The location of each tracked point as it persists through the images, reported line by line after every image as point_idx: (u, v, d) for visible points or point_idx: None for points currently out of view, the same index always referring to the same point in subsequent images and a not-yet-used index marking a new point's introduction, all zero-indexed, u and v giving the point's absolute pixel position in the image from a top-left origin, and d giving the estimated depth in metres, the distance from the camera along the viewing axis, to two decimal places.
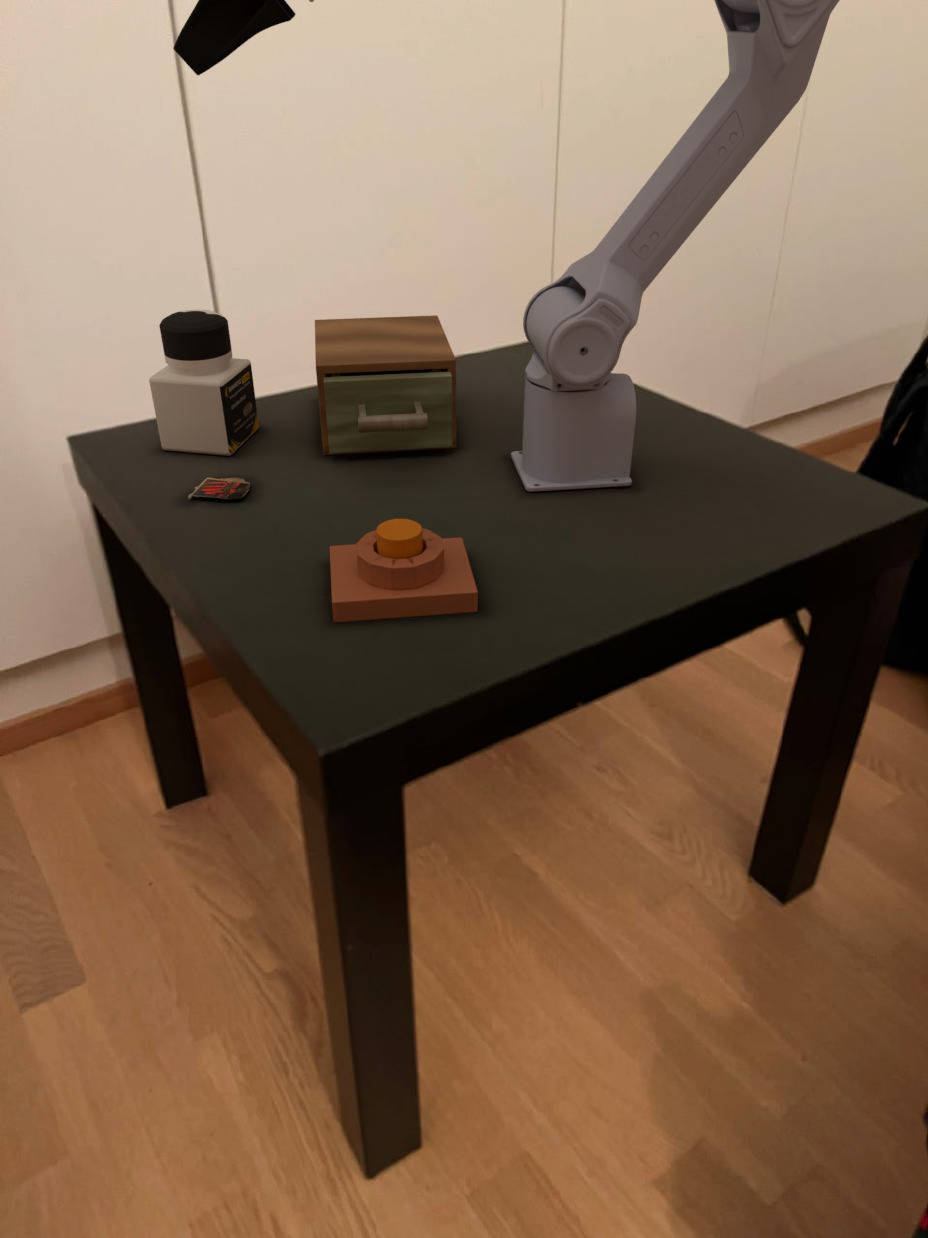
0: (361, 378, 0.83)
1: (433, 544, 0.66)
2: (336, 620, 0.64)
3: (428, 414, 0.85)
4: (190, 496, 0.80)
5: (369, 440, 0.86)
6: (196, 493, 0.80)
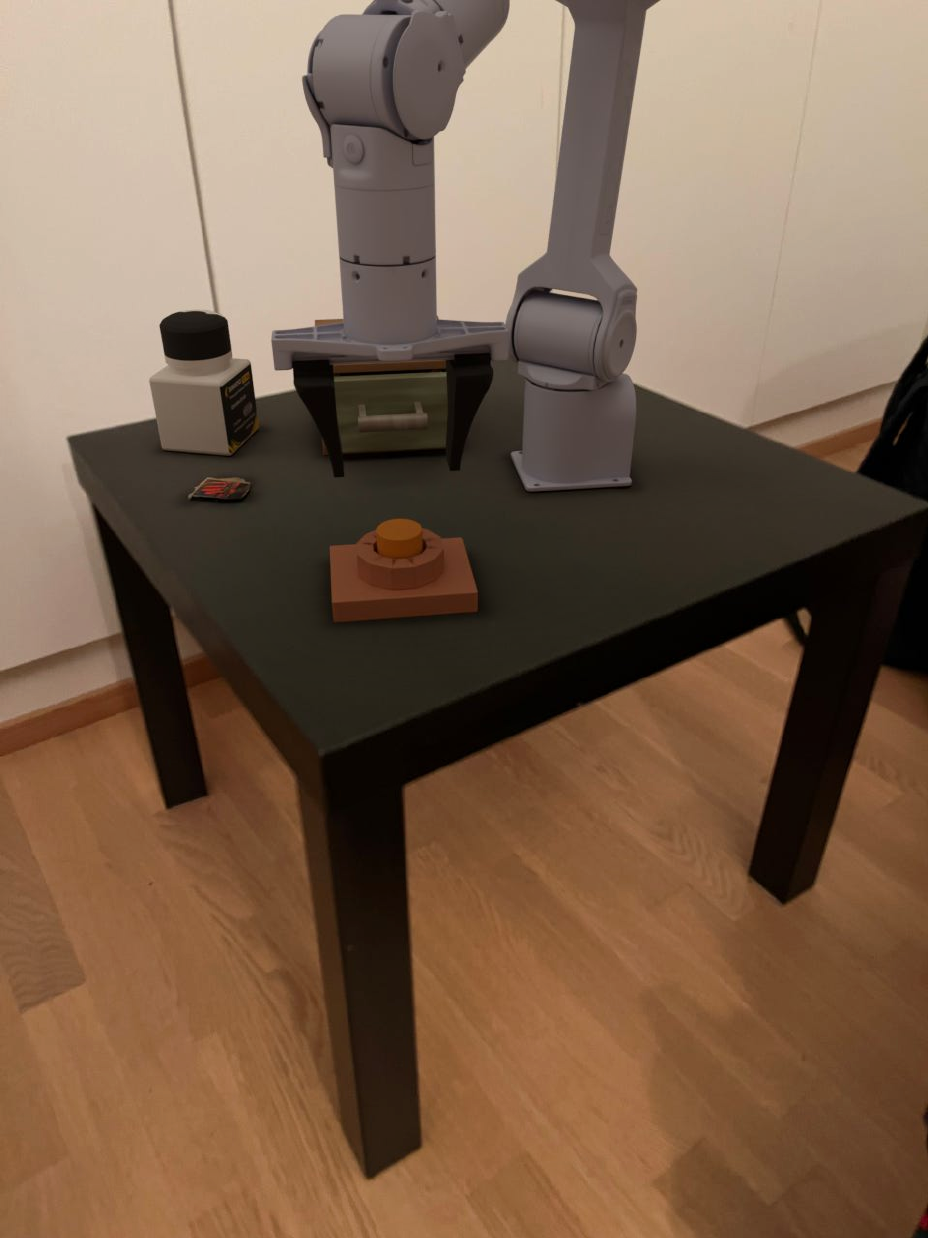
0: (361, 378, 0.83)
1: (433, 544, 0.66)
2: (336, 620, 0.64)
3: (428, 414, 0.85)
4: (190, 496, 0.80)
5: (369, 440, 0.86)
6: (196, 493, 0.80)
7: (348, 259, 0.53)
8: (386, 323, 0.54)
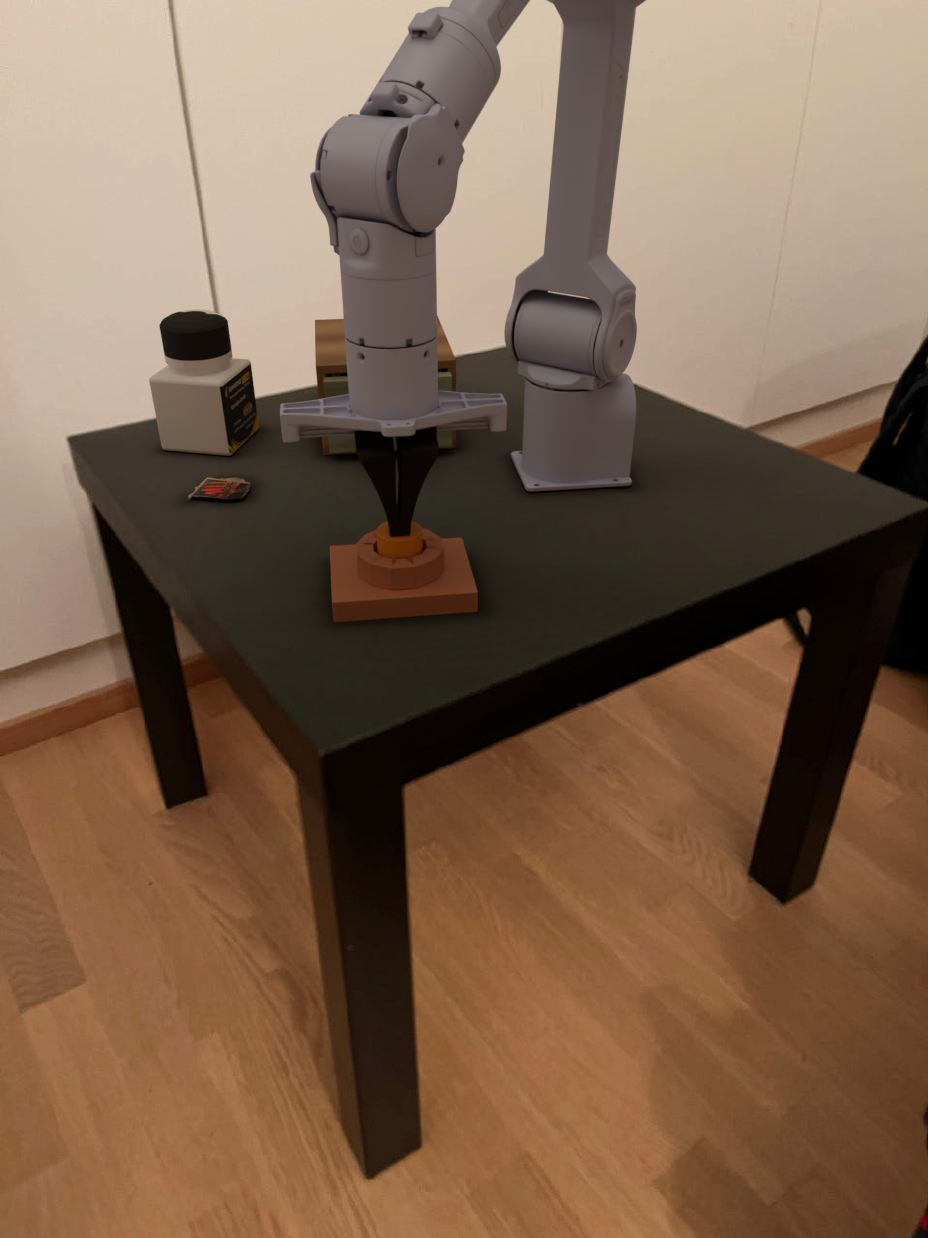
0: None
1: (433, 544, 0.66)
2: (336, 620, 0.64)
3: None
4: (190, 496, 0.80)
5: None
6: (196, 493, 0.80)
7: (353, 341, 0.56)
8: (389, 400, 0.57)
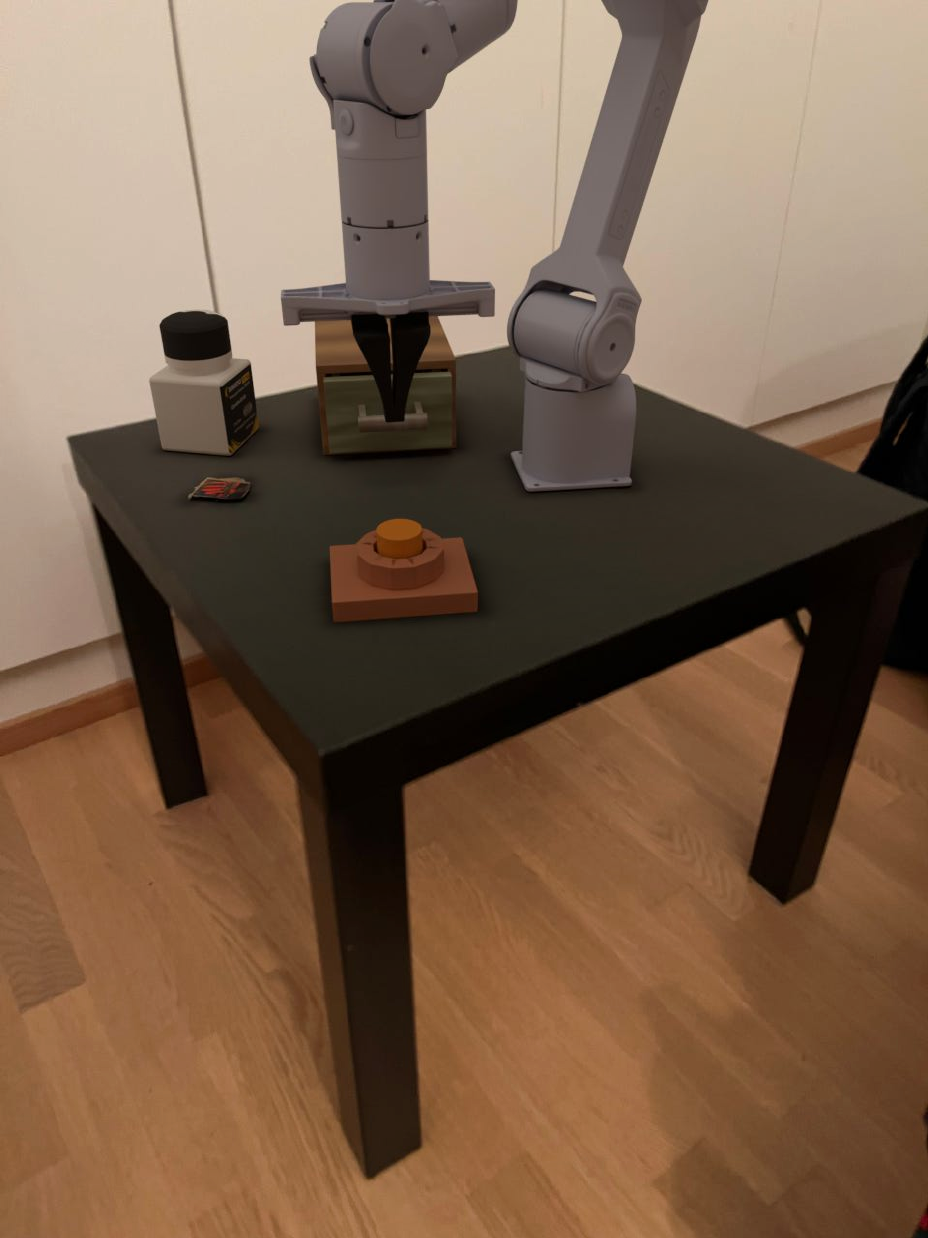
0: (361, 378, 0.83)
1: (433, 544, 0.66)
2: (336, 620, 0.64)
3: (428, 414, 0.85)
4: (190, 496, 0.80)
5: (369, 440, 0.86)
6: (196, 493, 0.80)
7: (350, 222, 0.60)
8: (384, 280, 0.61)
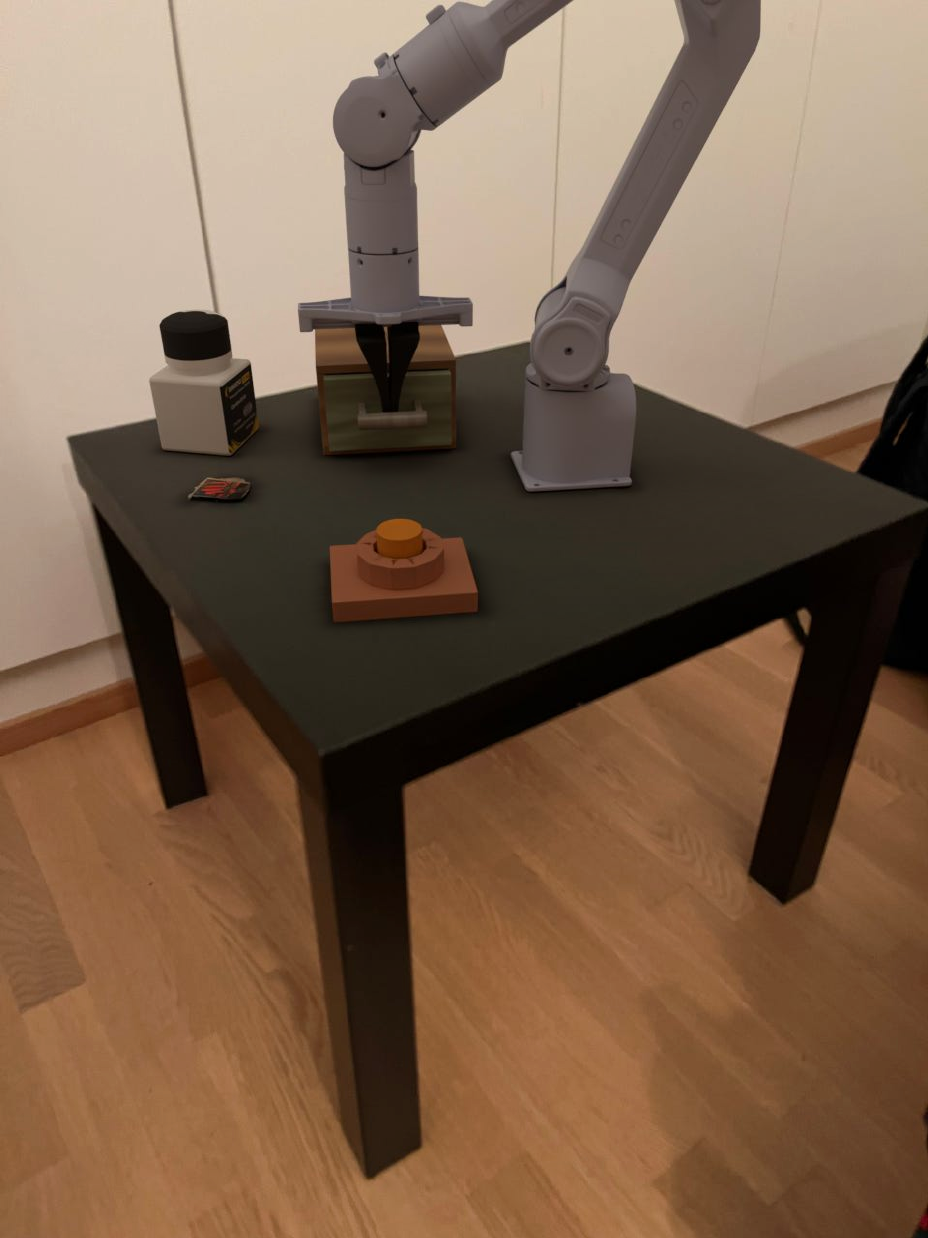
0: (361, 376, 0.83)
1: (433, 544, 0.66)
2: (336, 620, 0.64)
3: (427, 412, 0.85)
4: (190, 496, 0.80)
5: (369, 438, 0.86)
6: (196, 493, 0.80)
7: (354, 250, 0.74)
8: (381, 296, 0.75)
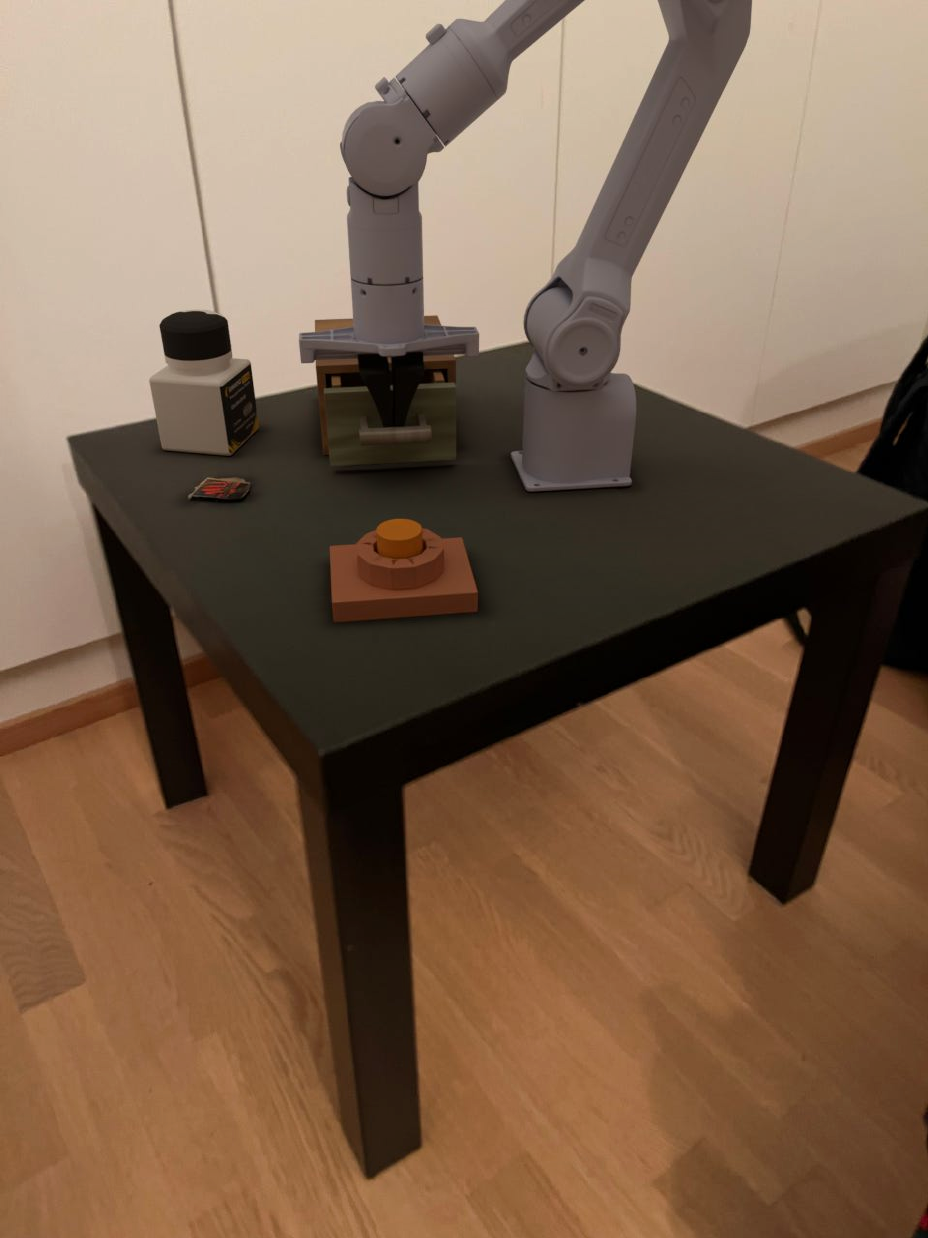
0: (363, 389, 0.80)
1: (433, 544, 0.66)
2: (336, 620, 0.64)
3: (431, 426, 0.83)
4: (190, 496, 0.80)
5: (371, 453, 0.83)
6: (196, 493, 0.80)
7: (357, 280, 0.71)
8: (385, 327, 0.73)
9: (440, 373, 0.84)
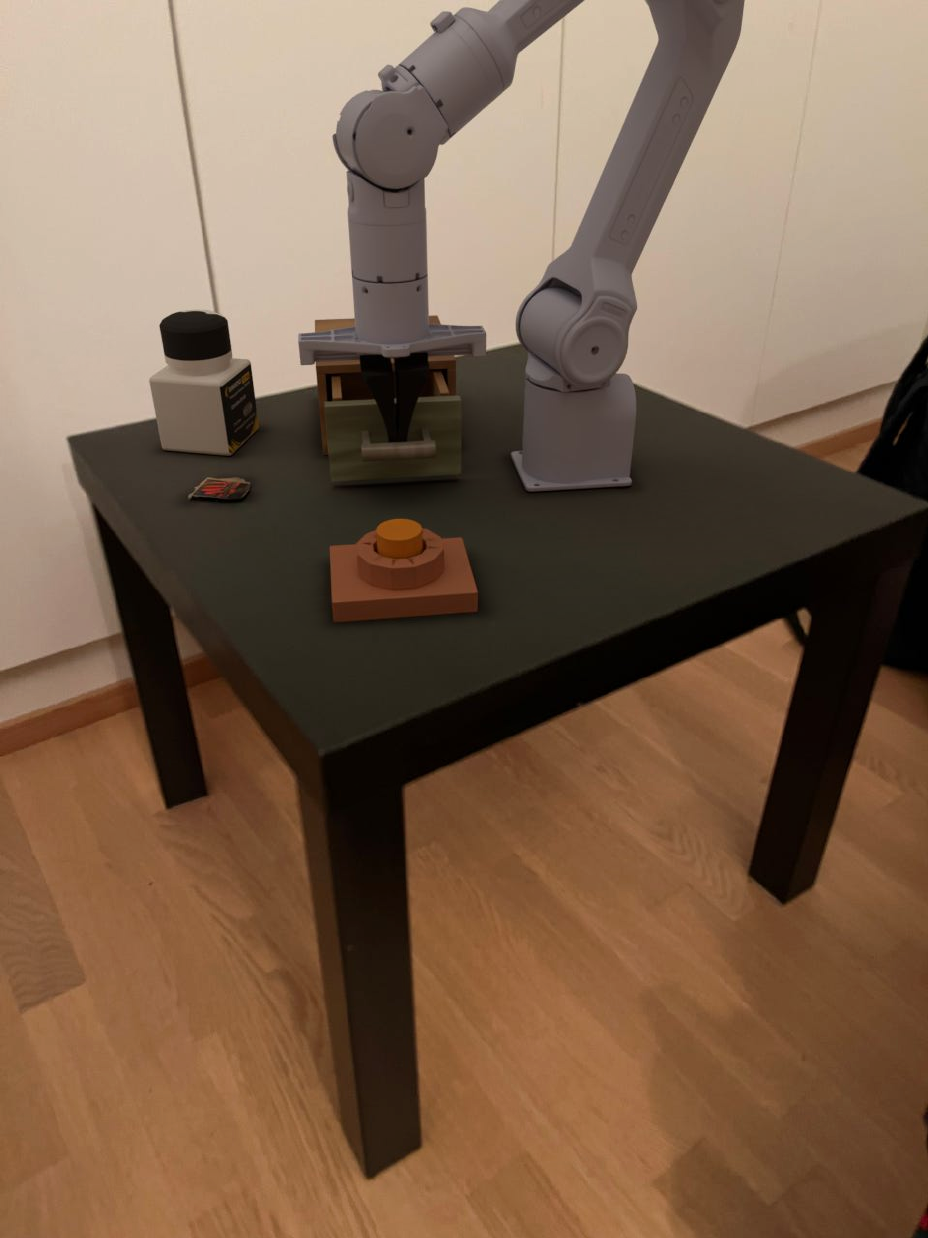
0: (365, 403, 0.78)
1: (433, 544, 0.66)
2: (336, 620, 0.64)
3: (436, 440, 0.80)
4: (190, 496, 0.80)
5: (373, 468, 0.80)
6: (196, 493, 0.80)
7: (359, 277, 0.68)
8: (388, 327, 0.69)
9: (444, 385, 0.82)
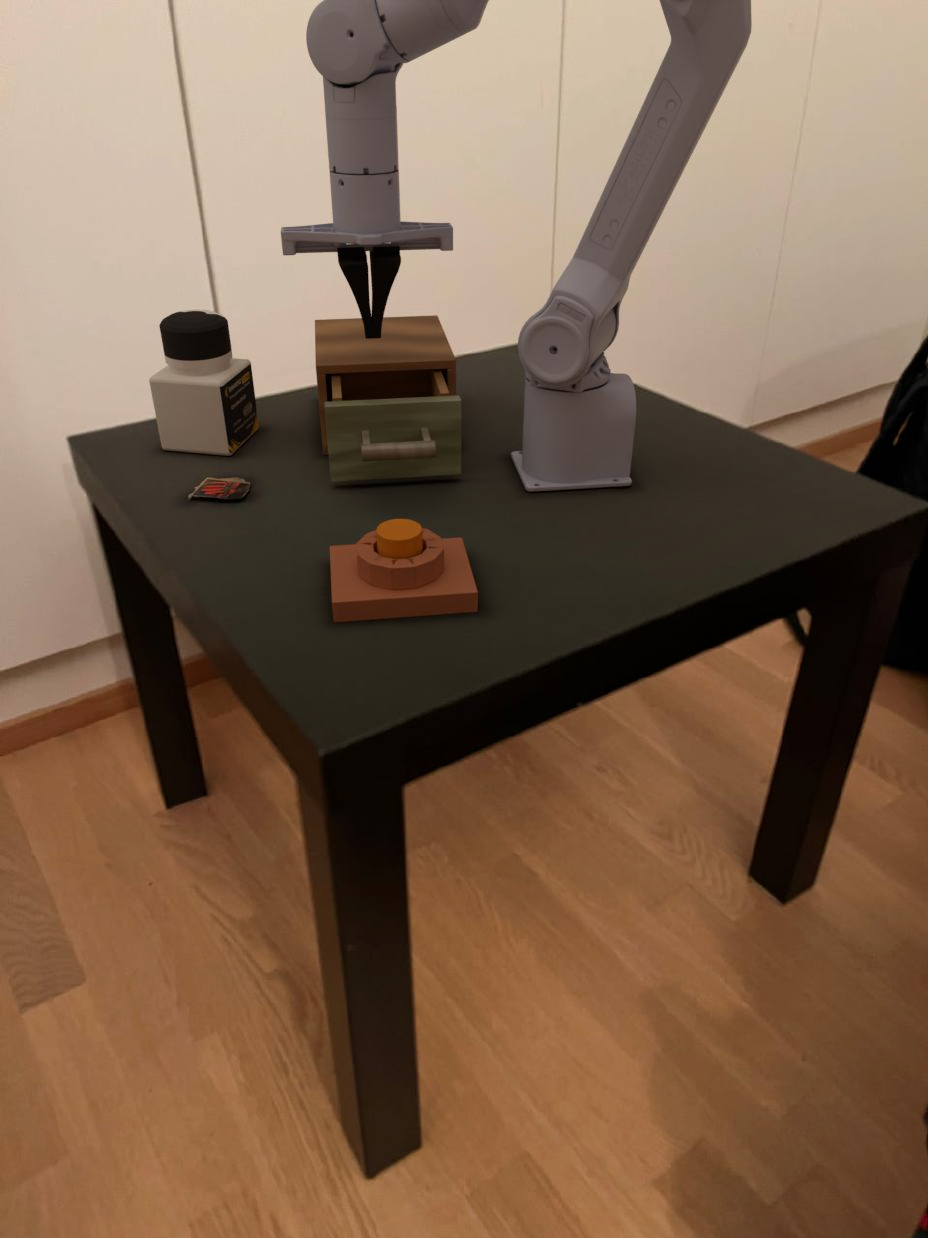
0: (365, 403, 0.78)
1: (433, 544, 0.66)
2: (336, 620, 0.64)
3: (436, 440, 0.80)
4: (190, 496, 0.80)
5: (373, 468, 0.80)
6: (196, 493, 0.80)
7: (335, 170, 0.75)
8: (362, 217, 0.76)
9: (444, 385, 0.82)
